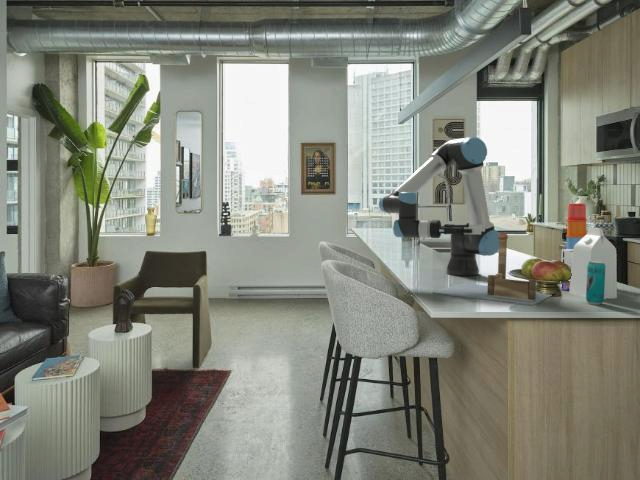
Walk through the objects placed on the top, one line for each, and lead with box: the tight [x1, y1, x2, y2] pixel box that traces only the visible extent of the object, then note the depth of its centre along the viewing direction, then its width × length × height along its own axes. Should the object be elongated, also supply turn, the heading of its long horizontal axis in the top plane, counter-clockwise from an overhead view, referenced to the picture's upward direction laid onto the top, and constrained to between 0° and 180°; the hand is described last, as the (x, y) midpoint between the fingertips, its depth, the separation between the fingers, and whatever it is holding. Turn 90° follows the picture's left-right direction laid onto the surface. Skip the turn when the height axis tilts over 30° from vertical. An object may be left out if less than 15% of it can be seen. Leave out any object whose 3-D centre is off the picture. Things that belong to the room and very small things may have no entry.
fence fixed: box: [487, 274, 537, 300], centre depth 203 cm, size 2×18×7 cm, turn 52°
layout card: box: [432, 282, 552, 306], centre depth 214 cm, size 28×38×1 cm
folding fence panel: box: [494, 232, 509, 293], centre depth 216 cm, size 16×4×22 cm, turn 148°
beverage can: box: [585, 261, 606, 306], centre depth 195 cm, size 6×6×15 cm
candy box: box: [560, 248, 573, 291], centre depth 222 cm, size 14×6×16 cm, turn 71°
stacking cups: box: [565, 203, 588, 249], centre depth 238 cm, size 10×10×35 cm
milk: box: [568, 226, 618, 300], centre depth 209 cm, size 12×12×26 cm
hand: (483, 229), depth 222 cm, fingers open, 13 cm apart
